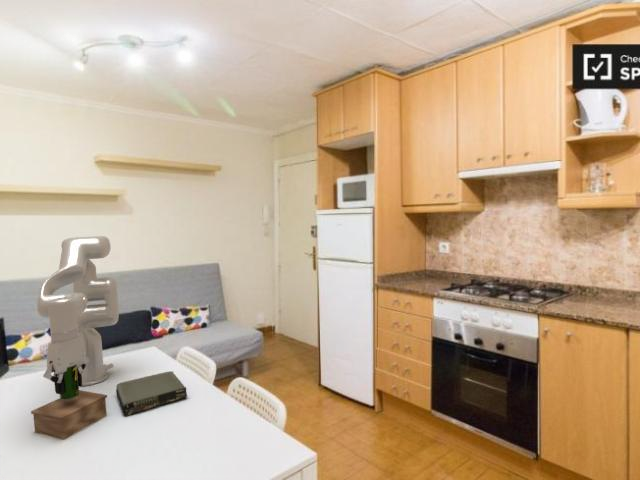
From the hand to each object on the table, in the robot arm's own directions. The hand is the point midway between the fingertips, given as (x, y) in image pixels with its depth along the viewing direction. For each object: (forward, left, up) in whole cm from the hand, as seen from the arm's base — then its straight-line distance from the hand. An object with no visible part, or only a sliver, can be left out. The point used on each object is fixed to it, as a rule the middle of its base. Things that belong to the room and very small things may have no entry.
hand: (69, 389), depth 130 cm
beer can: (0, 0, -3) cm, 3 cm away
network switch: (-23, +11, -12) cm, 28 cm away
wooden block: (0, 0, -12) cm, 12 cm away
